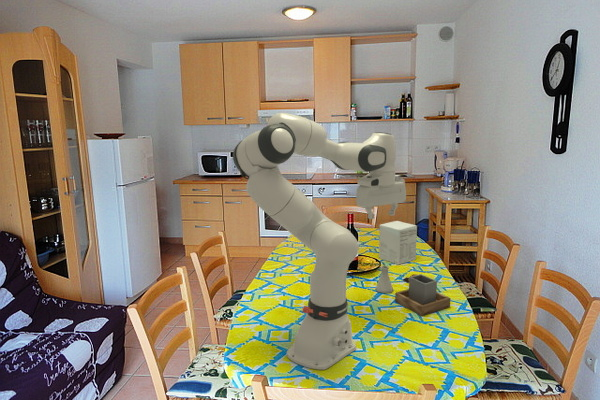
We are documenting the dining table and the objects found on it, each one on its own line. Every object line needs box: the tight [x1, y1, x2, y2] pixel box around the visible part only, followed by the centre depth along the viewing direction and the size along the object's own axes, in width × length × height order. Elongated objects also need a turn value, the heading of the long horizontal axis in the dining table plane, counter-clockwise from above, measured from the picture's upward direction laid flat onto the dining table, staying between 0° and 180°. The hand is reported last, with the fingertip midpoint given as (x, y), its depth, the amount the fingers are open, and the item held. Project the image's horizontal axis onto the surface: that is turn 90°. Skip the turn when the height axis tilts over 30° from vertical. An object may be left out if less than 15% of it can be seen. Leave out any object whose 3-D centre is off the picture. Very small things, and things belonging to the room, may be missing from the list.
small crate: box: [408, 273, 438, 305], centre depth 150 cm, size 8×6×9 cm
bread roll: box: [402, 274, 418, 284], centre depth 172 cm, size 11×8×4 cm
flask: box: [375, 265, 394, 294], centre depth 164 cm, size 7×7×10 cm
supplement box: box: [378, 220, 418, 265], centre depth 200 cm, size 13×13×18 cm
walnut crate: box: [394, 288, 451, 317], centre depth 151 cm, size 14×14×4 cm
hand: (381, 216), depth 145 cm, fingers open, 8 cm apart
